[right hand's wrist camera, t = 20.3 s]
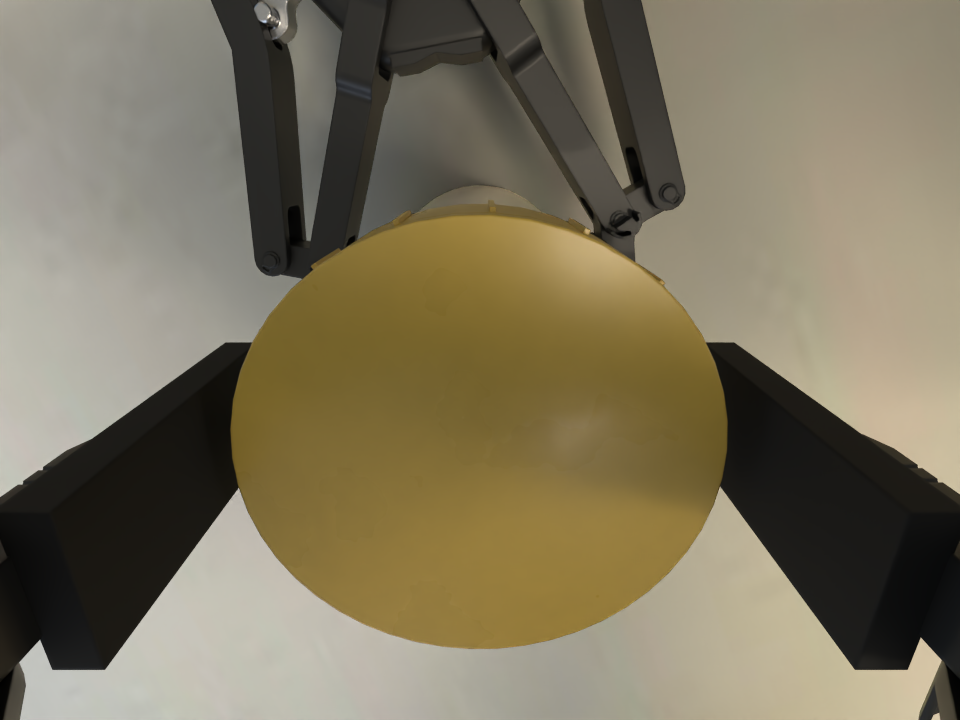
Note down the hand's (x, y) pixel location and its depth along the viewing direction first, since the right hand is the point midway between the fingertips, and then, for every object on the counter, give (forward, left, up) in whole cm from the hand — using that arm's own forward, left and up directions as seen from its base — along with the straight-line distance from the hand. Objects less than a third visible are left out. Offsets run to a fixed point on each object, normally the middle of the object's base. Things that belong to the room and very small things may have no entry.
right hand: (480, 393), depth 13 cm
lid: (0, 0, +3) cm, 3 cm away
